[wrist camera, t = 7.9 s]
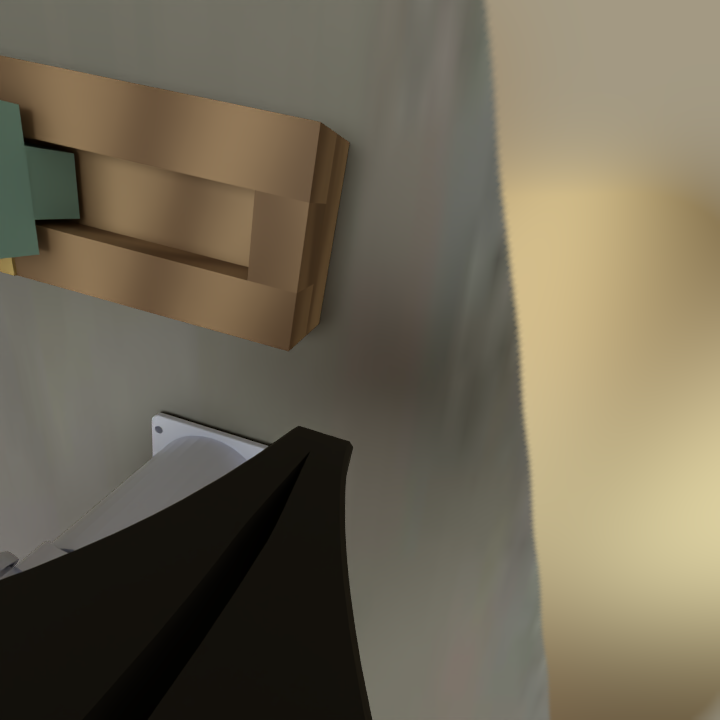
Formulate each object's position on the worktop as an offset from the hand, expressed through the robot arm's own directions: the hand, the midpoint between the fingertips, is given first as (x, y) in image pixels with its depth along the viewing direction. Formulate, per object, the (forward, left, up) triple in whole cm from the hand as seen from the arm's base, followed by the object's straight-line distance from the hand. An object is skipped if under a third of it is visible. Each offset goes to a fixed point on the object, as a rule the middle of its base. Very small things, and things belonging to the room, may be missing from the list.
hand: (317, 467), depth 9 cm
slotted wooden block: (+4, +15, -10) cm, 19 cm away
